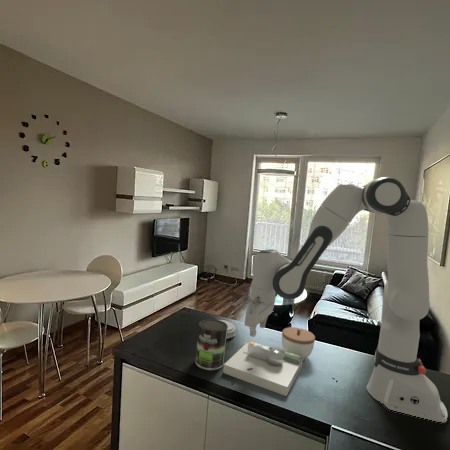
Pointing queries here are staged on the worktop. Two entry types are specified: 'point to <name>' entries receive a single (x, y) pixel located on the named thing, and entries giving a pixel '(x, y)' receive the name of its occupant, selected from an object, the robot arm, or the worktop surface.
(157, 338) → the worktop surface
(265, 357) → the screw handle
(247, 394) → the worktop surface
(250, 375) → the base
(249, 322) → the robot arm
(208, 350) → the coffee can
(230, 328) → the lid
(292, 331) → the lidded bowl
